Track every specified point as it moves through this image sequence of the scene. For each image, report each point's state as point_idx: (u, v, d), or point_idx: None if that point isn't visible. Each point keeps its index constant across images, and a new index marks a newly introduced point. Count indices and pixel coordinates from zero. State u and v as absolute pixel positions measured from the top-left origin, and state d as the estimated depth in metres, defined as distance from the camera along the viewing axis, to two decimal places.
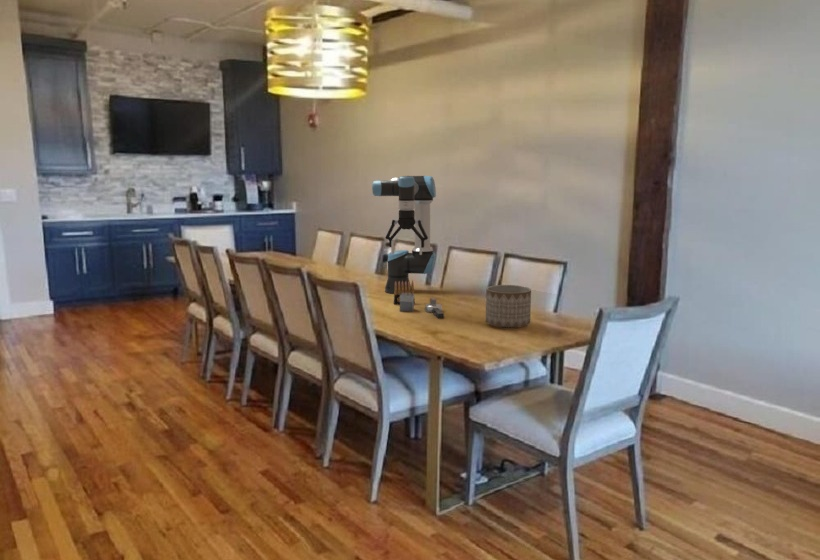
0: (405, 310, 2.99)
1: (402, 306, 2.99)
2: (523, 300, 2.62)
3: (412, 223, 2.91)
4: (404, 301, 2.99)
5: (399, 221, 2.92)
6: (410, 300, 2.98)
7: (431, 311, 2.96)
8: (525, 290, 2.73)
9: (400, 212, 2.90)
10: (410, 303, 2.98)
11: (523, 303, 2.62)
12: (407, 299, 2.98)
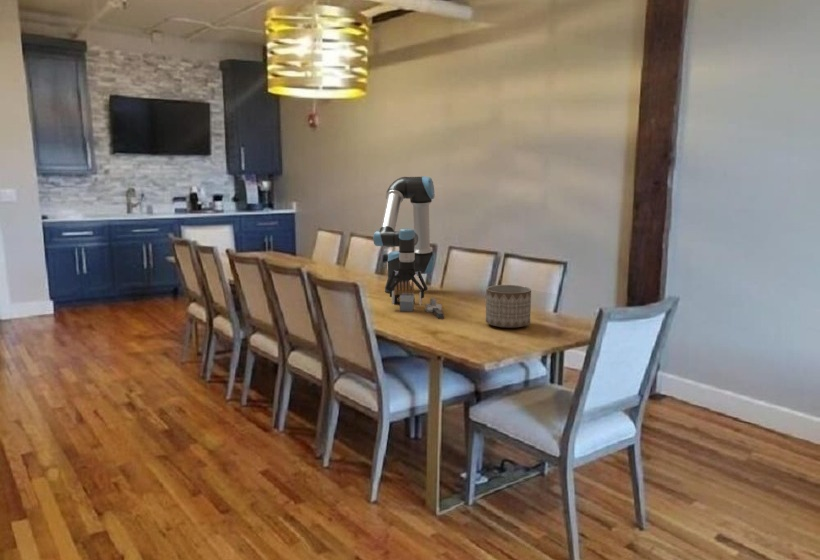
0: (405, 310, 2.99)
1: (402, 306, 2.99)
2: (523, 300, 2.62)
3: (412, 274, 2.98)
4: (404, 301, 2.99)
5: (399, 272, 2.99)
6: (410, 300, 2.98)
7: (431, 311, 2.96)
8: (525, 290, 2.73)
9: (400, 264, 2.96)
10: (410, 303, 2.98)
11: (523, 303, 2.62)
12: (407, 299, 2.98)
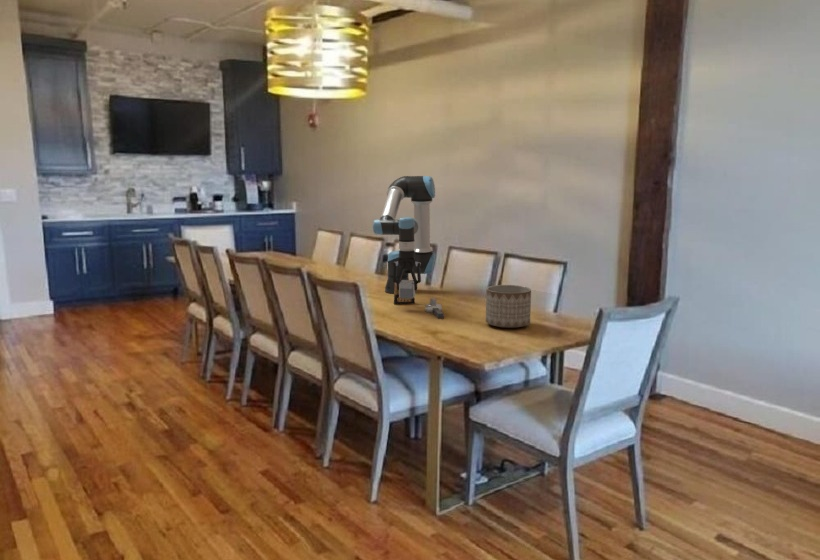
0: (405, 297, 2.99)
1: (402, 293, 2.99)
2: (523, 300, 2.62)
3: (412, 263, 2.97)
4: (404, 288, 2.98)
5: (399, 261, 2.98)
6: (410, 287, 2.98)
7: (431, 311, 2.96)
8: (525, 290, 2.73)
9: (400, 253, 2.95)
10: (410, 290, 2.98)
11: (523, 303, 2.62)
12: (407, 286, 2.98)
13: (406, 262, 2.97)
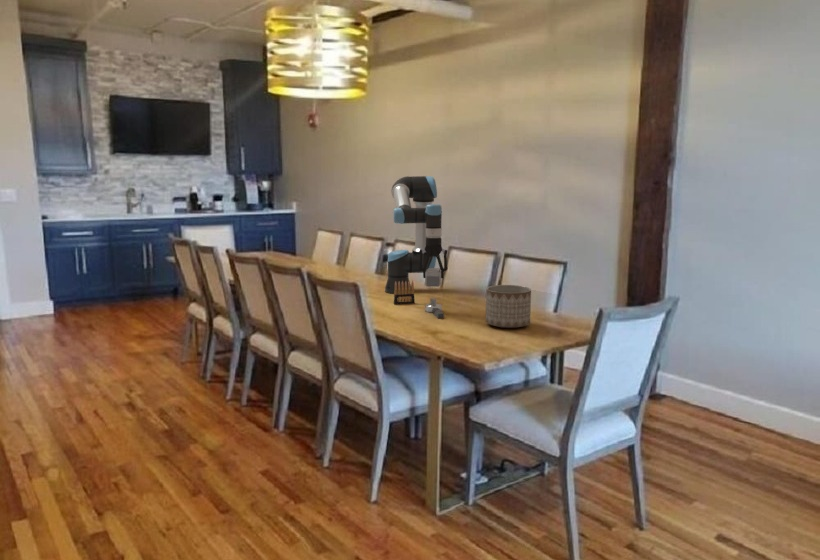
0: (432, 285, 2.95)
1: (429, 281, 2.95)
2: (523, 300, 2.62)
3: (439, 250, 2.94)
4: (431, 276, 2.94)
5: (426, 249, 2.94)
6: (437, 275, 2.94)
7: (431, 311, 2.96)
8: (525, 290, 2.73)
9: (427, 240, 2.92)
10: (437, 278, 2.94)
11: (523, 303, 2.62)
12: (434, 274, 2.94)
13: (433, 249, 2.94)
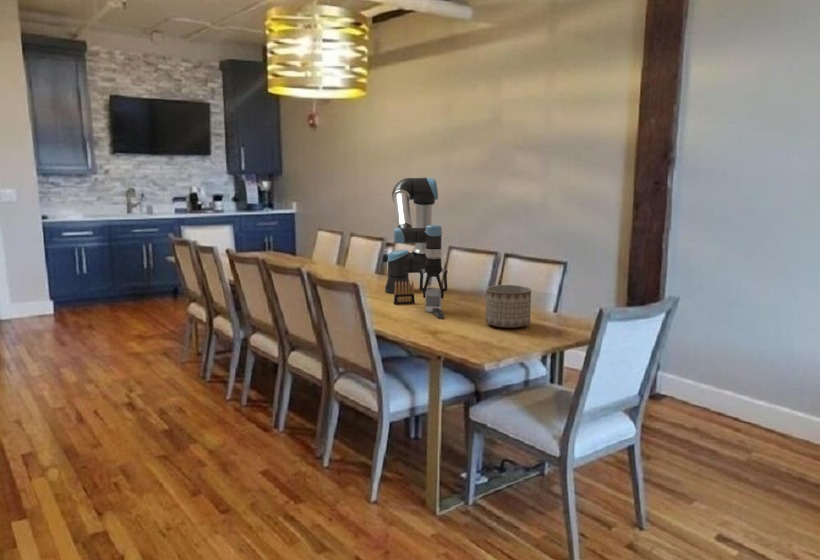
0: (432, 305, 2.97)
1: (429, 301, 2.97)
2: (523, 300, 2.62)
3: (439, 271, 2.95)
4: (431, 296, 2.96)
5: (426, 269, 2.96)
6: (437, 295, 2.95)
7: (431, 311, 2.96)
8: (525, 290, 2.73)
9: (427, 260, 2.94)
10: (437, 298, 2.96)
11: (523, 303, 2.62)
12: (434, 294, 2.96)
13: (433, 270, 2.96)
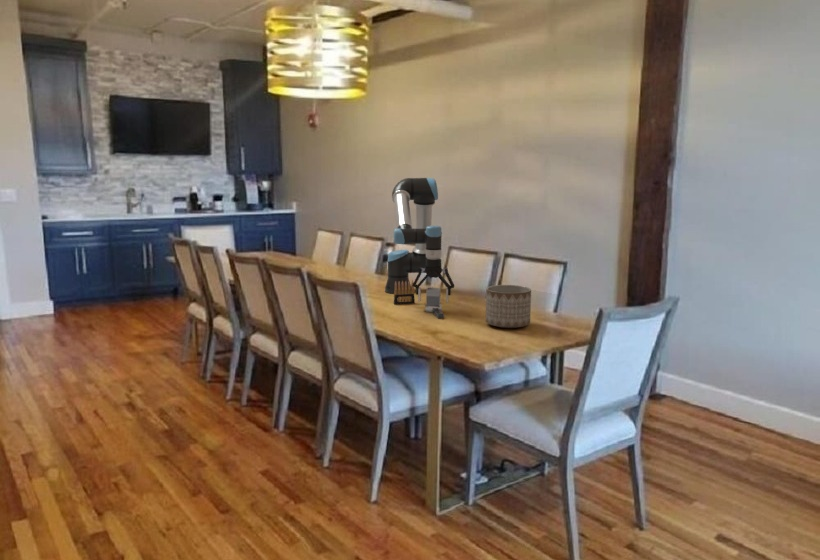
0: (432, 305, 2.97)
1: (429, 301, 2.97)
2: (523, 300, 2.62)
3: (439, 271, 2.95)
4: (431, 296, 2.96)
5: (426, 269, 2.96)
6: (437, 295, 2.95)
7: (431, 311, 2.96)
8: (525, 290, 2.73)
9: (427, 261, 2.94)
10: (437, 298, 2.96)
11: (523, 303, 2.62)
12: (434, 294, 2.96)
13: (433, 270, 2.96)
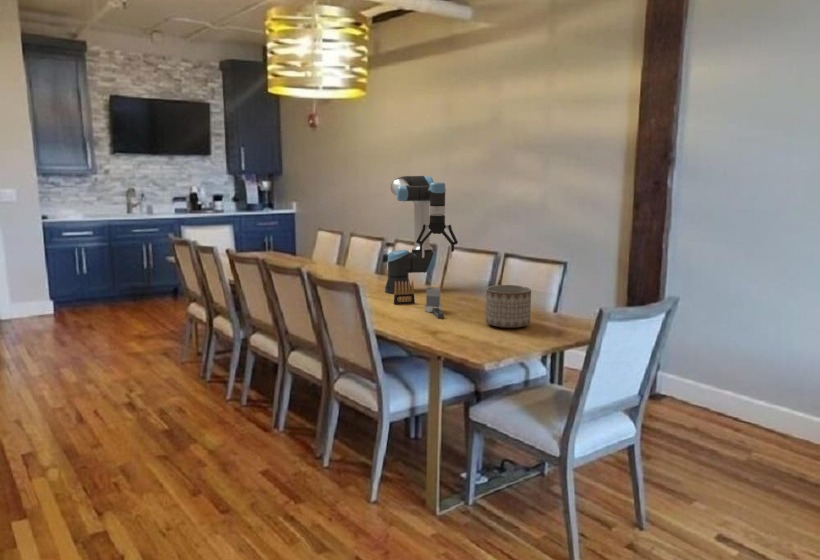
0: (432, 305, 2.97)
1: (429, 301, 2.97)
2: (523, 300, 2.62)
3: (442, 228, 2.99)
4: (431, 296, 2.96)
5: (430, 226, 3.00)
6: (437, 295, 2.95)
7: (431, 311, 2.96)
8: (525, 290, 2.73)
9: (431, 217, 2.97)
10: (437, 298, 2.96)
11: (523, 303, 2.62)
12: (434, 294, 2.96)
13: (436, 227, 3.00)
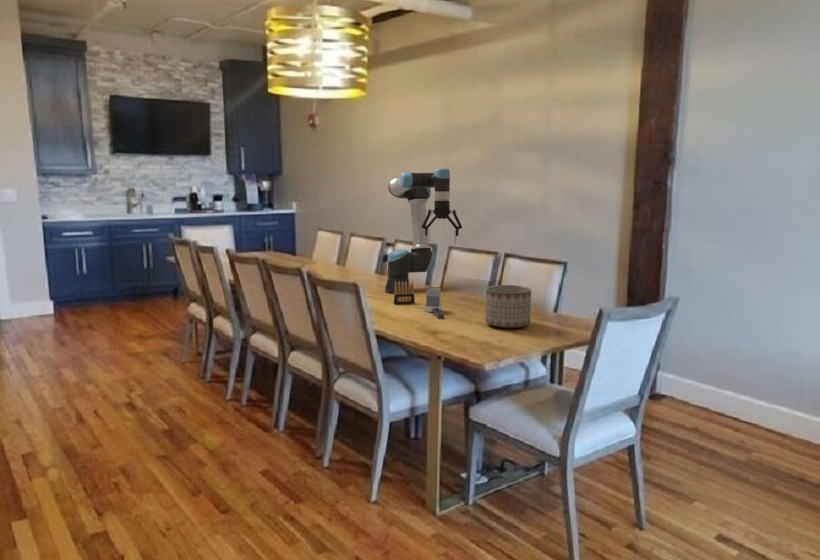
0: (432, 305, 2.97)
1: (429, 301, 2.97)
2: (523, 300, 2.62)
3: (447, 213, 3.07)
4: (431, 296, 2.96)
5: (435, 211, 3.08)
6: (437, 295, 2.95)
7: (431, 311, 2.96)
8: (525, 290, 2.73)
9: (436, 202, 3.05)
10: (437, 298, 2.96)
11: (523, 303, 2.62)
12: (434, 294, 2.96)
13: (441, 212, 3.07)
